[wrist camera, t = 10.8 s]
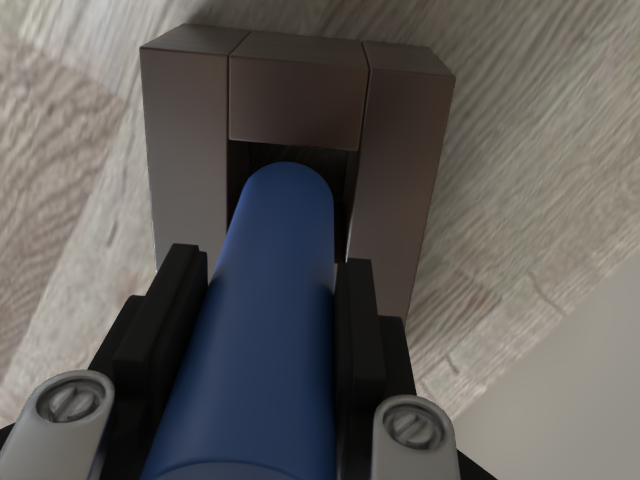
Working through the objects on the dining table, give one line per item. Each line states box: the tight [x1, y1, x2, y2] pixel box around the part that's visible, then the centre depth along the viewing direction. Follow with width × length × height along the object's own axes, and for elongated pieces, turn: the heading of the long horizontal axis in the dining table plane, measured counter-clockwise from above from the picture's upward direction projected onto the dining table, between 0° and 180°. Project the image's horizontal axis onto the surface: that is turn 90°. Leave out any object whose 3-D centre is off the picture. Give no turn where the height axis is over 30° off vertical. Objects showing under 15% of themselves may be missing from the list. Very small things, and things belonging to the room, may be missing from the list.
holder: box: [139, 24, 456, 330], centre depth 21 cm, size 9×16×5 cm, turn 175°
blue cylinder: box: [139, 162, 337, 480], centre depth 13 cm, size 3×3×11 cm
